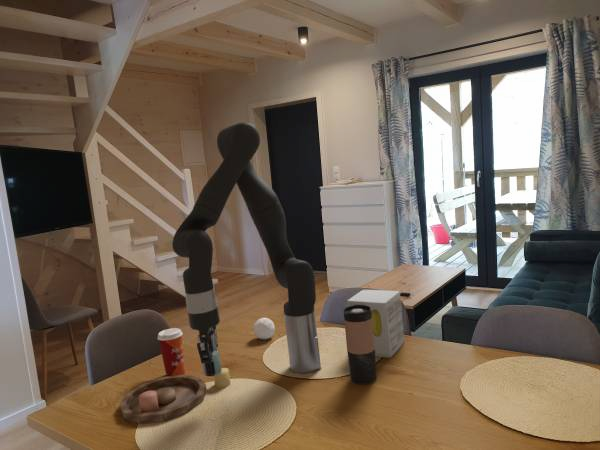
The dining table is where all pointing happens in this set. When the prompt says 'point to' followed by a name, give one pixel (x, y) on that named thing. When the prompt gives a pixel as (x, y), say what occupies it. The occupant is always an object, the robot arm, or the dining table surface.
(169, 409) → the walnut tray
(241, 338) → the dining table surface
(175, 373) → the paper cup
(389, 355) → the supplement box
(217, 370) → the pale blue rounded piece
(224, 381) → the ochre bead
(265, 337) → the geometric ball
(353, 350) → the travel mug
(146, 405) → the pink rounded piece
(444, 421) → the dining table surface
